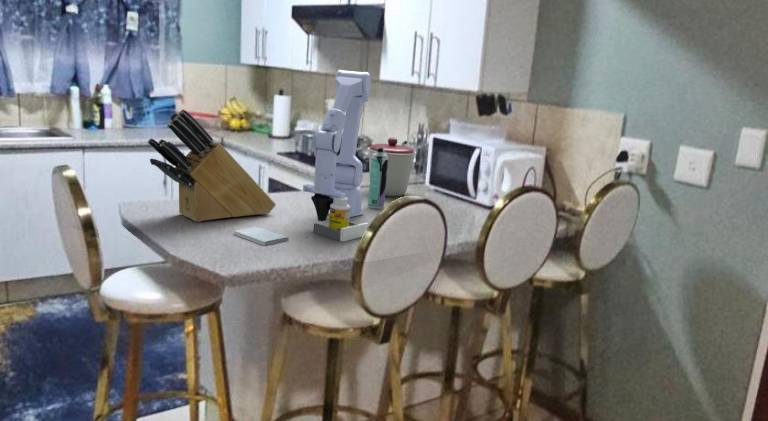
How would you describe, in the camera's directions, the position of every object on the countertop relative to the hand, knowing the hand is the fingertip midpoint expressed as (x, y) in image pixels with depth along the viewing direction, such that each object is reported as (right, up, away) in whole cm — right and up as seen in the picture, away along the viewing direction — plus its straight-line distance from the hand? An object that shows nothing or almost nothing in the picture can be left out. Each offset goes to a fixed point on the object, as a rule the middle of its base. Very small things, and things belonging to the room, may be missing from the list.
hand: (322, 220), depth 179 cm
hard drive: (-15, -5, -13) cm, 21 cm away
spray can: (+15, +4, +32) cm, 36 cm away
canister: (+19, +9, +55) cm, 59 cm away
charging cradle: (+5, -4, -4) cm, 7 cm away
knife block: (-32, +1, +3) cm, 32 cm away
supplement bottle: (+5, -4, -3) cm, 7 cm away
